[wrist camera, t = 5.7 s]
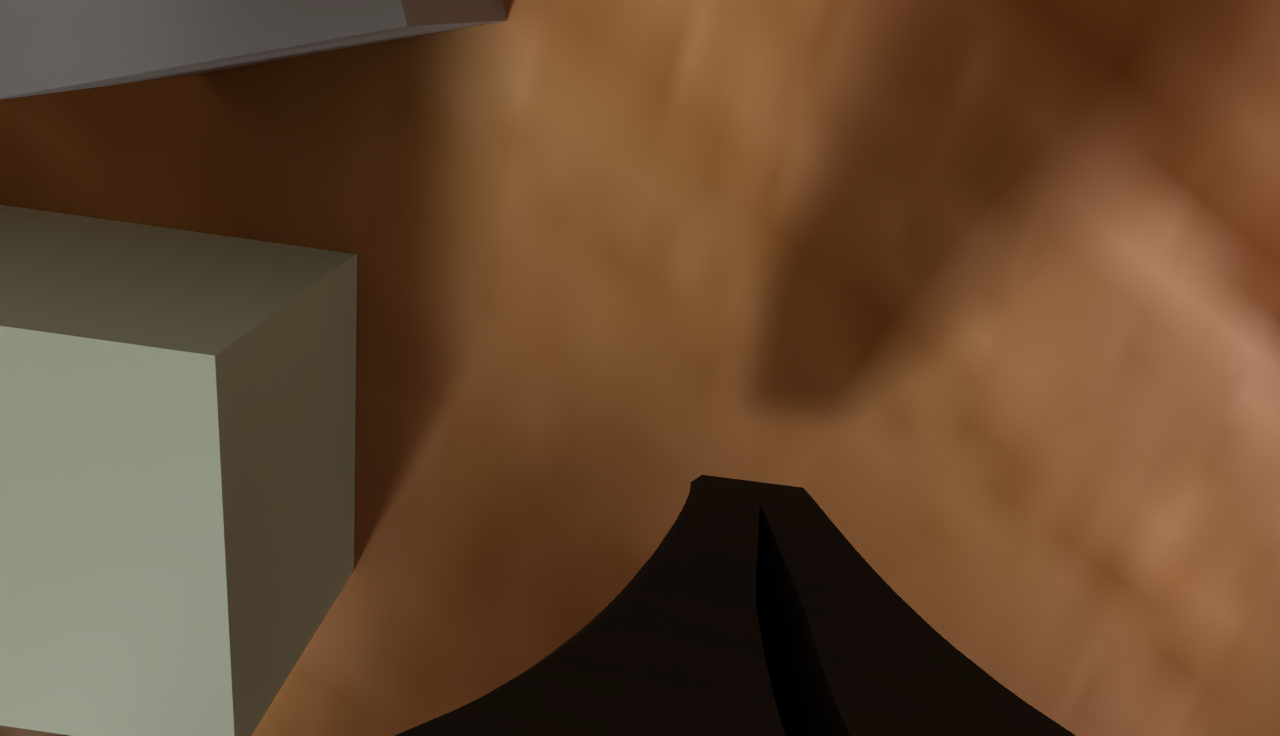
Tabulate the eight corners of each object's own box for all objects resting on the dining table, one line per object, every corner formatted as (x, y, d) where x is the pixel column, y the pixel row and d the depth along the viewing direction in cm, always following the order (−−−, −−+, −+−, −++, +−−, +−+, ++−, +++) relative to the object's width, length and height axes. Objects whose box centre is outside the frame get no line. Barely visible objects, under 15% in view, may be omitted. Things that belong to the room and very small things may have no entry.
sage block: (357, 563, 14) (235, 759, 11) (40, 519, 14) (-190, 697, 11) (361, 251, 12) (215, 356, 9) (-3, 202, 13) (-300, 283, 9)
